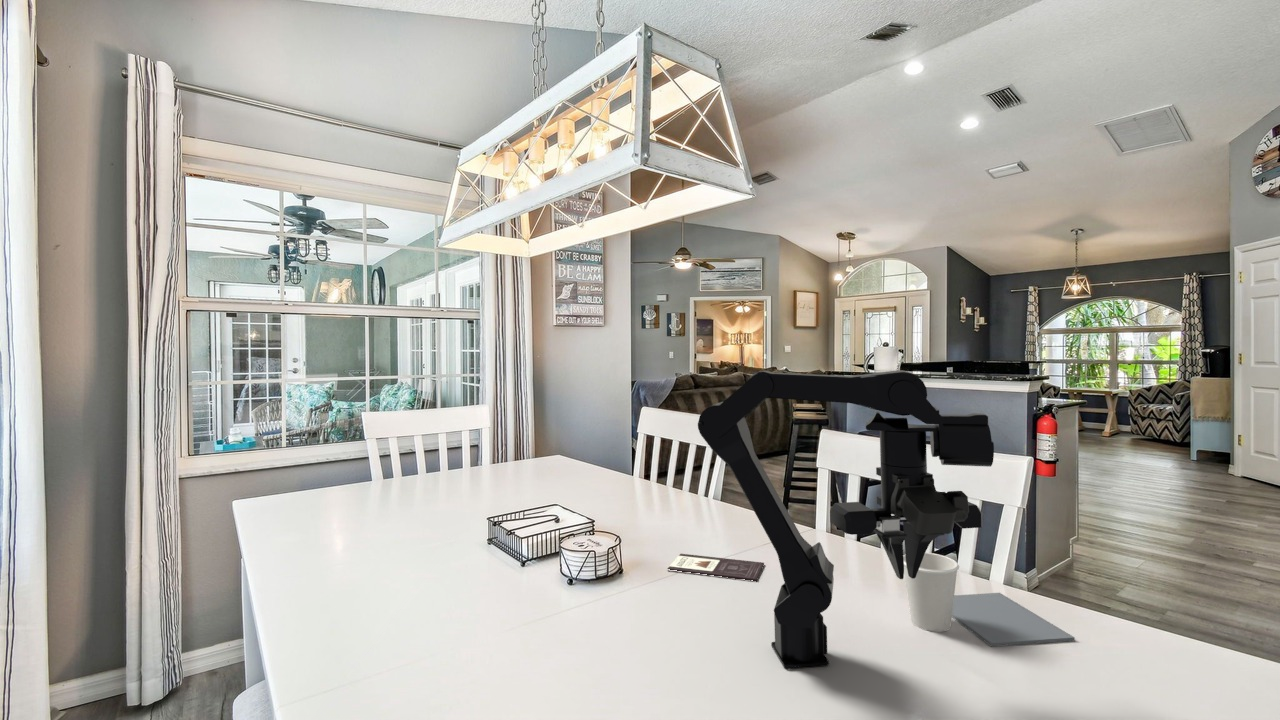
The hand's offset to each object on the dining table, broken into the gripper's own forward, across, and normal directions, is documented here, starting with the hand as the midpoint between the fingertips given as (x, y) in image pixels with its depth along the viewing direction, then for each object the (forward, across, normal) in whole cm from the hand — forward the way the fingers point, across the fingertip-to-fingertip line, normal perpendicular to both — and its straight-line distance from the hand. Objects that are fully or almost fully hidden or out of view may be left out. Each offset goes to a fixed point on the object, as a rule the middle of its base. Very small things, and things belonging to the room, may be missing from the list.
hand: (905, 577), depth 78 cm
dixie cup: (+13, +11, +13) cm, 22 cm away
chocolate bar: (+14, -18, +41) cm, 47 cm away
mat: (+13, +22, +13) cm, 29 cm away
